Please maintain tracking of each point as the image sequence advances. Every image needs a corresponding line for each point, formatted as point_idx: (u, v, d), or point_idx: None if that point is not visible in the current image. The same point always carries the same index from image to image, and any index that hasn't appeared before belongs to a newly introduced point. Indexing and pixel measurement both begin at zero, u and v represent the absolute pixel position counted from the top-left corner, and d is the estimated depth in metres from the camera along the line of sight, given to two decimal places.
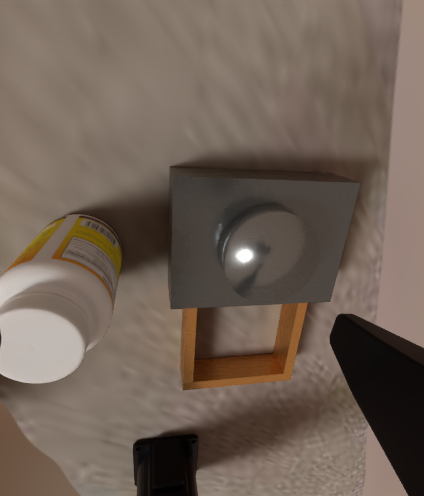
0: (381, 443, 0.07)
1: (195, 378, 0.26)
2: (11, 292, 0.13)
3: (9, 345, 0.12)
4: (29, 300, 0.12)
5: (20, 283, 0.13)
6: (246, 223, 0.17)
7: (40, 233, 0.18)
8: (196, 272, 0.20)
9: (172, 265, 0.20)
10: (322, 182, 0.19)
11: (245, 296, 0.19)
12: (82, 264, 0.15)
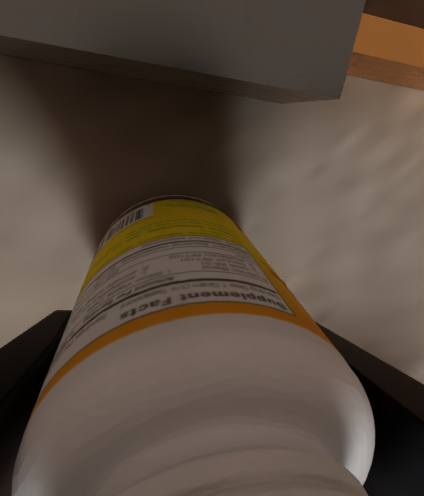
0: None
1: None
2: None
3: None
4: None
5: None
6: None
7: None
8: None
9: (197, 68, 0.06)
10: None
11: None
12: (51, 379, 0.04)
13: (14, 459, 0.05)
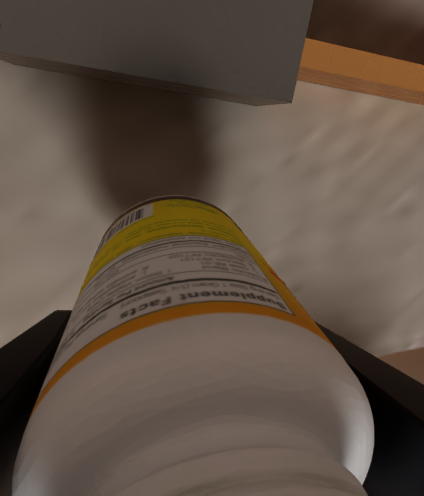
0: None
1: None
2: None
3: None
4: None
5: None
6: None
7: None
8: (211, 19, 0.08)
9: (185, 81, 0.09)
10: None
11: None
12: (52, 379, 0.04)
13: (14, 459, 0.05)
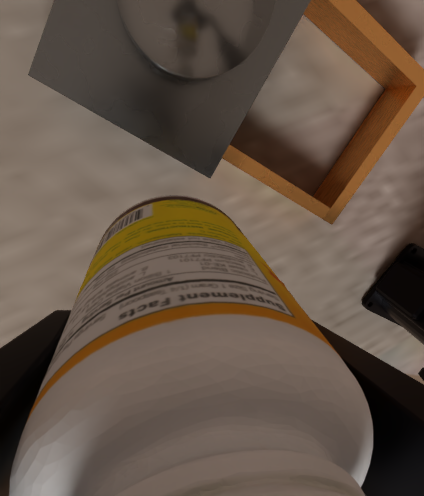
0: None
1: (330, 203, 0.19)
2: None
3: None
4: None
5: None
6: None
7: None
8: (178, 119, 0.15)
9: (152, 144, 0.15)
10: None
11: (231, 64, 0.12)
12: (50, 380, 0.04)
13: None
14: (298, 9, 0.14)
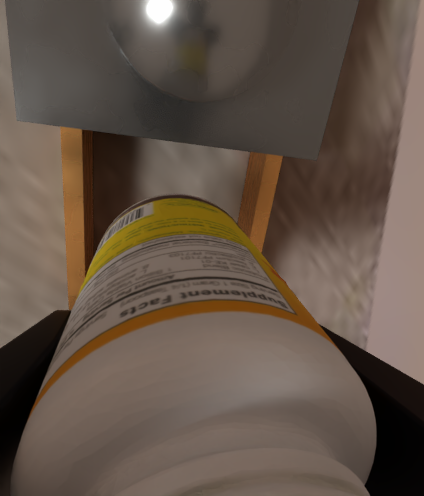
0: None
1: None
2: None
3: None
4: None
5: None
6: None
7: None
8: (62, 39, 0.10)
9: (8, 8, 0.10)
10: None
11: (146, 71, 0.09)
12: (51, 378, 0.04)
13: None
14: (241, 143, 0.13)
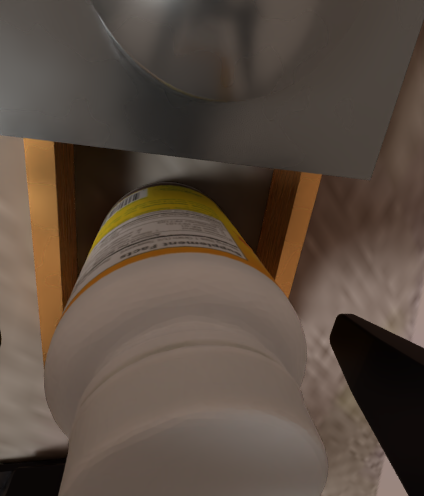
0: (381, 443, 0.07)
1: None
2: None
3: None
4: None
5: None
6: None
7: None
8: (16, 8, 0.07)
9: None
10: None
11: (141, 54, 0.06)
12: (71, 300, 0.06)
13: None
14: (271, 158, 0.09)
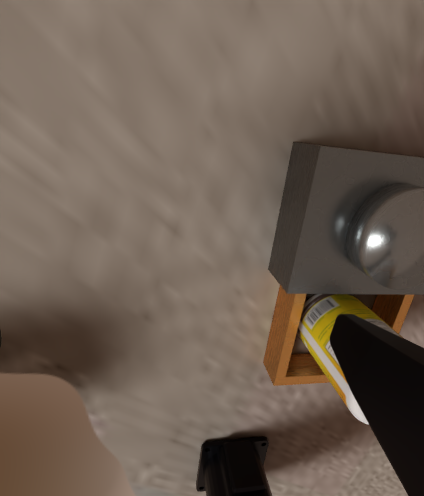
0: (381, 443, 0.07)
1: (286, 373, 0.24)
2: None
3: None
4: None
5: None
6: (396, 199, 0.16)
7: (310, 352, 0.23)
8: (321, 254, 0.19)
9: (299, 245, 0.18)
10: None
11: (379, 280, 0.18)
12: None
13: None
14: (401, 290, 0.21)
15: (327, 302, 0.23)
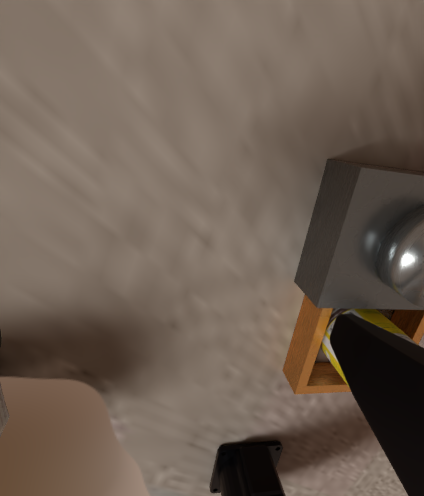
0: (381, 443, 0.07)
1: (307, 383, 0.25)
2: None
3: None
4: None
5: None
6: None
7: None
8: (352, 270, 0.19)
9: (332, 261, 0.19)
10: None
11: (410, 299, 0.18)
12: None
13: None
14: None
15: None
